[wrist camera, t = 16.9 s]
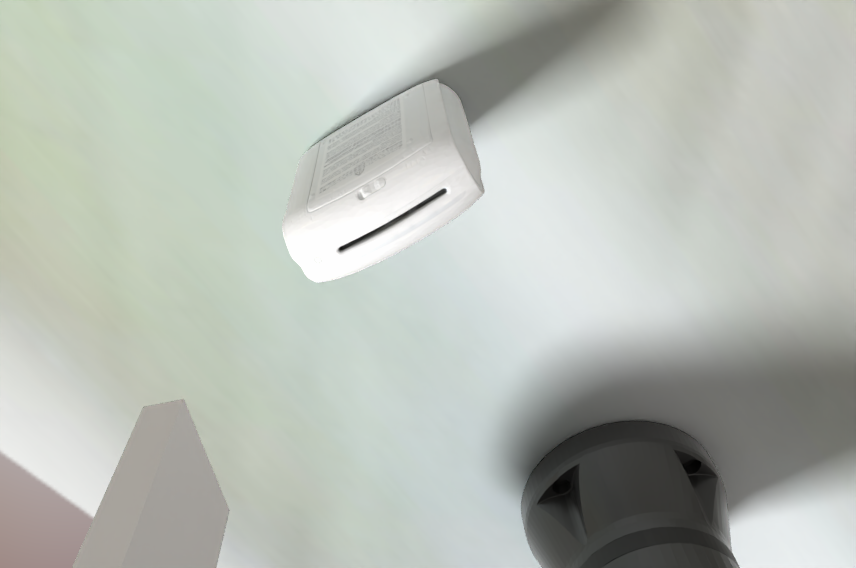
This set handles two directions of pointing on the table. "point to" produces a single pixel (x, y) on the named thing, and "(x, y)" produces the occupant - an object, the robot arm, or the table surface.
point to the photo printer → (382, 183)
